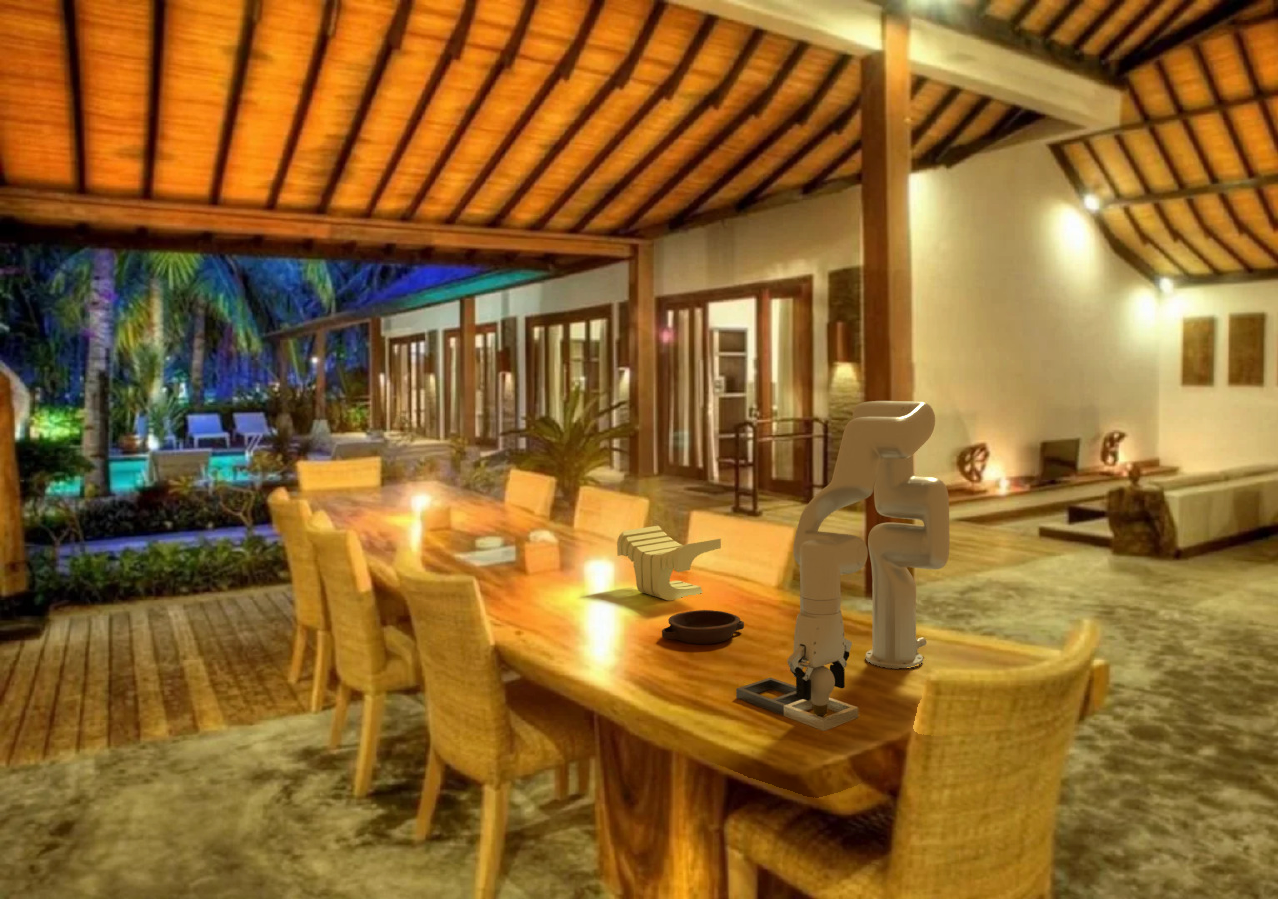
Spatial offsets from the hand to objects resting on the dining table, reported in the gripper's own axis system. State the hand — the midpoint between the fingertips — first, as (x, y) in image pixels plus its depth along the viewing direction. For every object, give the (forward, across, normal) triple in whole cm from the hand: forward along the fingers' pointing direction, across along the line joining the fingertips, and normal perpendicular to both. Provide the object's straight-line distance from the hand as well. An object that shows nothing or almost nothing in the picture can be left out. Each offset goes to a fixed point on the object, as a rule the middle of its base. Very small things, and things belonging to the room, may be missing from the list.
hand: (820, 692), depth 177 cm
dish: (+5, -19, -54) cm, 57 cm away
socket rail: (+5, 0, -7) cm, 8 cm away
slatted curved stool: (+5, -41, -94) cm, 103 cm away
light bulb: (+5, 0, 0) cm, 5 cm away
